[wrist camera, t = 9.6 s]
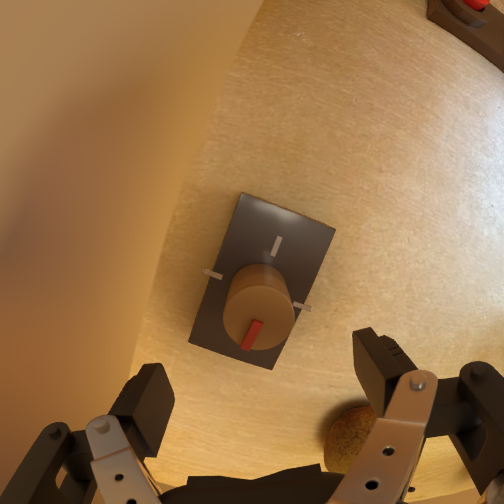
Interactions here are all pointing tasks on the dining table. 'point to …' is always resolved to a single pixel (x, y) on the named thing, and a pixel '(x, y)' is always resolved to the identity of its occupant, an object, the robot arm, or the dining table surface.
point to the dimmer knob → (258, 308)
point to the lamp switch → (476, 3)
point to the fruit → (348, 439)
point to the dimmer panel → (265, 252)
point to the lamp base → (472, 26)
